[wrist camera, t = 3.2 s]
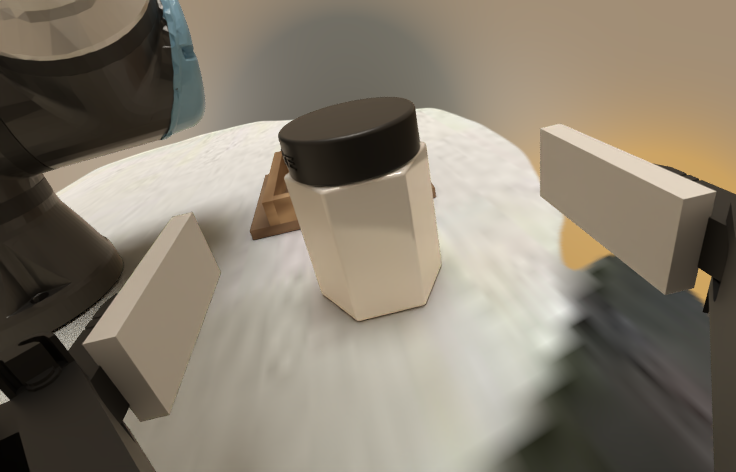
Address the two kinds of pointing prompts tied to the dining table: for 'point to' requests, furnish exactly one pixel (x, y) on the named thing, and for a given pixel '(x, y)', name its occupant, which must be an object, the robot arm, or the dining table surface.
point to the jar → (364, 204)
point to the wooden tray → (277, 204)
